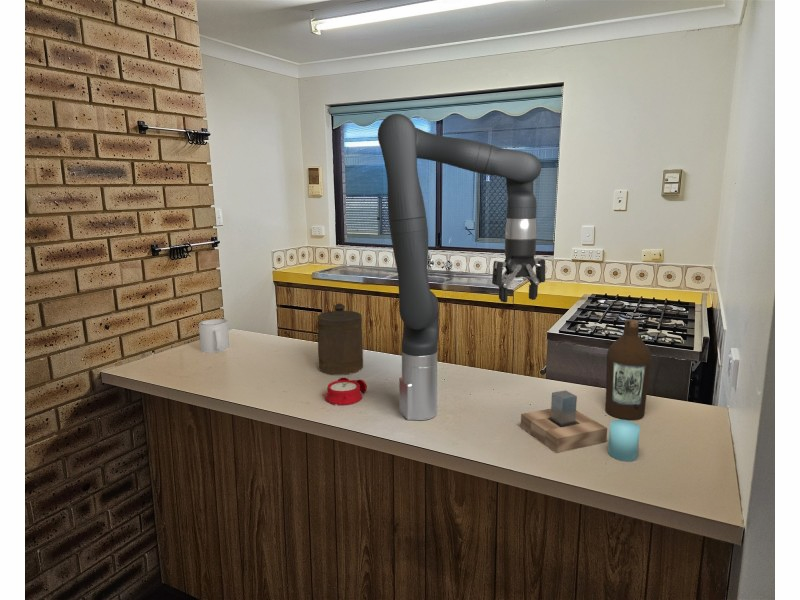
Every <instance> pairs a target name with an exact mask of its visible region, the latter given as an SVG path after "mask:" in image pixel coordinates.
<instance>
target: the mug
mask: <svg viewBox="0 0 800 600" xmlns="http://www.w3.org/2000/svg"><path fill="white" fill-rule="evenodd" d="M198 331H199V341H200V342H199V344H200V351H202V352H201V353H203V352H205V354H215V353H214V352H219V353H221V352H220V351H224V350H226V349H228V348H229V349H230V338H229V325H228V320H227V319H226V318H225V319H223V318H212V319H205V320H201V321H200V322H198ZM229 349H228V350H229ZM226 351H227V350H226ZM224 352H225V351H224Z"/></svg>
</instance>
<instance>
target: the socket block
mask: <svg viewBox="0 0 800 600" xmlns="http://www.w3.org/2000/svg"><path fill="white" fill-rule="evenodd" d="M550 420H551V408H547V409H541V410H536V411H530V412H525V413H521V414H520V428H521V429H522V428H523V430H524V431H525V432H526V433H528V434H529V435H531V436H532V437H533V438H535V439H536V440H537V441H539V442H540V443H542V444H543V445H545V446H546V447H548V448H549V449H550V450H552V451H553V452H555V453H556V454H559V453H562V452H567V451H571V450H572V451H573V450H576V449H580V448H581V449H582V448H585V447H589V446H590V447H591V446H594V445H598V444H604V443H607V440H608V439H607V436H608V427H607V426H604V425H603V424H601V423H599V421H596V420H594V419H593V418H591V417H589V416H587V415H585V414H583V413H582V412H580V411H578V410H577V409H576V418H575V425H571V426H566V427H559V426H558V425H556V424H554V423H553V422H551V421H550Z"/></svg>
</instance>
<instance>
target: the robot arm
mask: <svg viewBox="0 0 800 600" xmlns="http://www.w3.org/2000/svg"><path fill="white" fill-rule="evenodd" d="M377 141H378V144H379V146H380V149H381V153H382V158H383V163H384V167H385V172H386V180H387V181H386V182H387V196H386V197H387V215H388V224H389V231H390V232H389V233H390V240H391V243H392V250H393V252H392V253H393V255H394V261H395V266H396V272H397V280H398V311H399V315H400V318H401V320H402V322H403V333H402V339H401V377H399V380H398V381H399V386H398V388H399V390H398V391H399V392H398V393H399V394H398V395H399V413H400V414H401V415H402V416H403V417H404V418H405V419H406V420H407V421H411V420H412V421H425V420H430V419H433V418H435V417H436V416H437V415H438V346H439V345H438V342H439V335H440V334H439V330H440V329H439V325H440V306H439V300H438V298H437V297H438V296H436V294H435V293H434V292H433V291H431V289H430V288H431V287H430V283H429V282H430V281H429V276H428V257H429V229H428V219H427V218H428V217H427V211H426V206H425V202H424V197H423V192H422V187H421V184H420V178H419V173H418V161H417V159H420V160H428V161H431V162H437V163H439V164H440V163H441V164H445V165H448V166H452V167H455V168H458V169H462V170H465V171H469V172H473V173H477V174H482V175H485V176H496V177H501V178H505V181H506V185H505V186H506V193H507V206H506V207H507V208H506V224H505V234H504V256H505V259H504V261H499V260H494V261H493V266H492V278H491V283H492V285H494V286H497V287H498V299H499V300H500V302H502V303H508V297H509V296H508V292H509V289H508V286H509V284H510V283H511V282H512V281H514V279H515V278H516V279H519V278H526V279H527V280H528V282H529V283H530V284H528V299H529V300H531V301H534V300H536V299H537V298H538V291H539V289H538V288H539V285H540V284H542V283H545V282H546V259H544V258H535V256H536V251H537V249H536V248H537V197H536V196H535V194H534V181H535V180H536V179H538V178H539V176H540V174H541V172H542V163H541V161H540V159H539V158H538V156H537V155H535V154H533V153H530V152H527V151H523V150H518V149H510V148H503V147H499V146H495V145H493V144H488V143H485V142H482V141H481V142H480V141H477V140H472V139H467V138H459V137H451V136H443V135H439V134H435V133H431V132H429V131H428V132H427V131H425V130H422V129H420V128H418V127H416V126H415V124H414V122H413V121H412V120H411V119H410V118H409V117H408V116H406V115H404V114H401V113H392V114H389V115H388V116H386V117H385V118H384V119H383V120H382V121H381V123H380V124H379V127H378V129H377ZM534 267H535V271H534V269H533V268H534ZM503 270H505V271H504V272H503Z"/></svg>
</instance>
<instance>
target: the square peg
mask: <svg viewBox="0 0 800 600" xmlns="http://www.w3.org/2000/svg"><path fill="white" fill-rule="evenodd" d="M577 397H578V395H576V394H574V393H572V392H570V391H567V390H566V389H565V390H559V391H555V392H551V403H550V404H551V405H550V409H551V420H550V421H551V422H553V423H554V424H556V425H558V426H559V427H566V426H571V425H575V418H576V410H577V403H578V401H577V399H578V398H577Z"/></svg>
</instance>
